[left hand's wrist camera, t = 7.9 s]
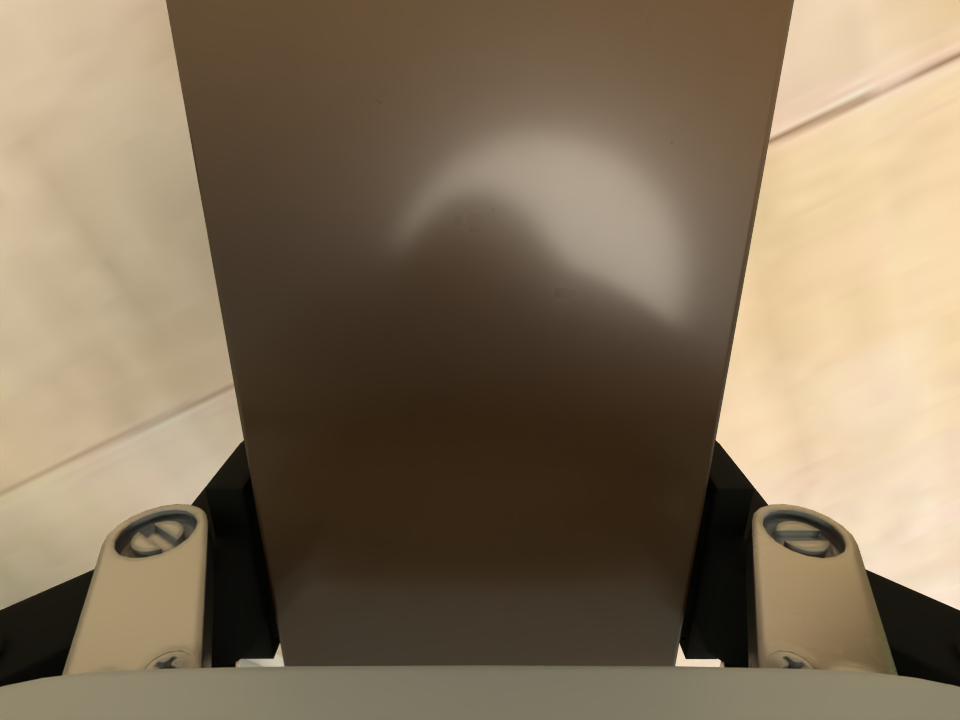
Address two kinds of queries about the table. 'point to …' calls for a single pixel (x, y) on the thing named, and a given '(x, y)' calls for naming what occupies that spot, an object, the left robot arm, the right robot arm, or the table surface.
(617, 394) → the post
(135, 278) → the table surface
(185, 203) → the table surface
